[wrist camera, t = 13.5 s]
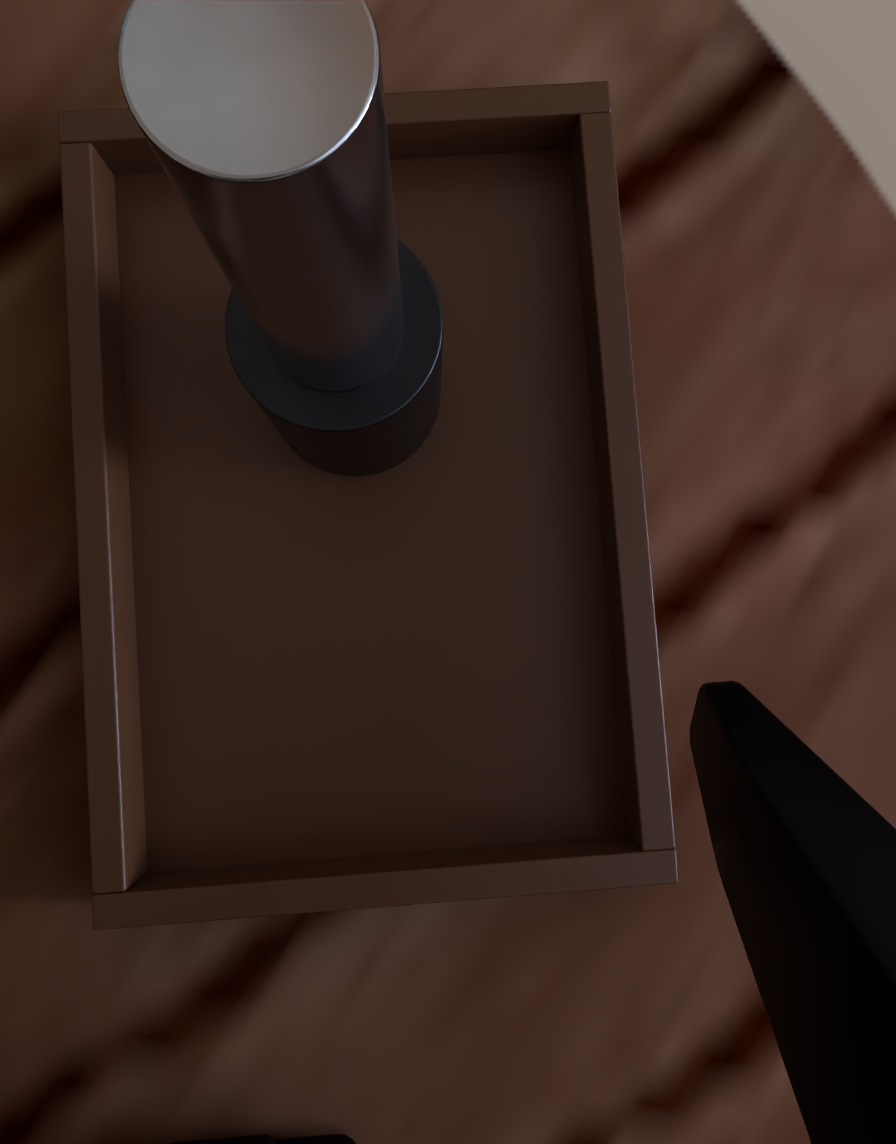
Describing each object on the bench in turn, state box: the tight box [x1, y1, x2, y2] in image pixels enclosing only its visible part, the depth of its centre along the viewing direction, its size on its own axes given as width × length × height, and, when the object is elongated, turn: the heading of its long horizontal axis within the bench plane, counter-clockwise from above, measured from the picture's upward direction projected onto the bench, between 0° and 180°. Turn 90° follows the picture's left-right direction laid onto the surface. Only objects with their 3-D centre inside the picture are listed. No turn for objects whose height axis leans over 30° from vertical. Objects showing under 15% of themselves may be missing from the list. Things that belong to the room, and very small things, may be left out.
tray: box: [58, 81, 678, 930], centre depth 21 cm, size 20×14×2 cm
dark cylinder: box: [118, 0, 443, 476], centre depth 15 cm, size 4×4×13 cm
